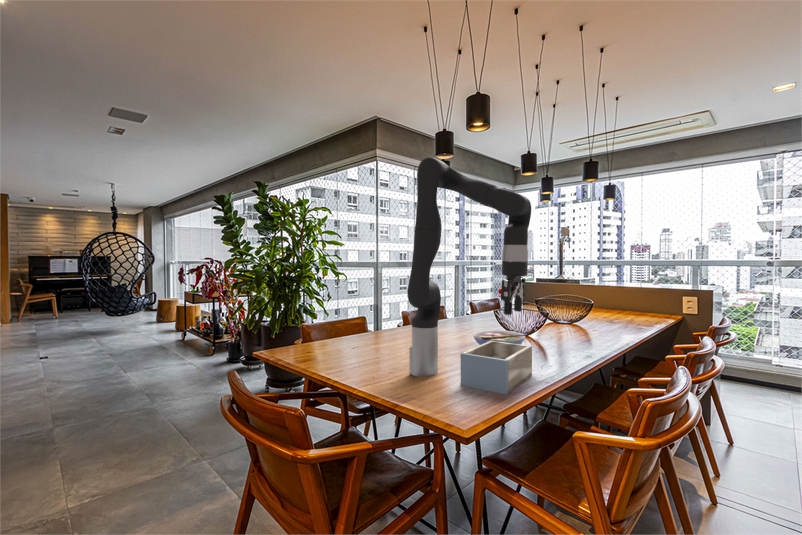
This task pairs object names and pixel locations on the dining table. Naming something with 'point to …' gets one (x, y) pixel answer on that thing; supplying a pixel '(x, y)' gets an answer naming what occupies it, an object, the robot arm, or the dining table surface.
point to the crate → (509, 359)
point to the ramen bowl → (498, 336)
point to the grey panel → (484, 373)
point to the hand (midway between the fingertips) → (512, 312)
